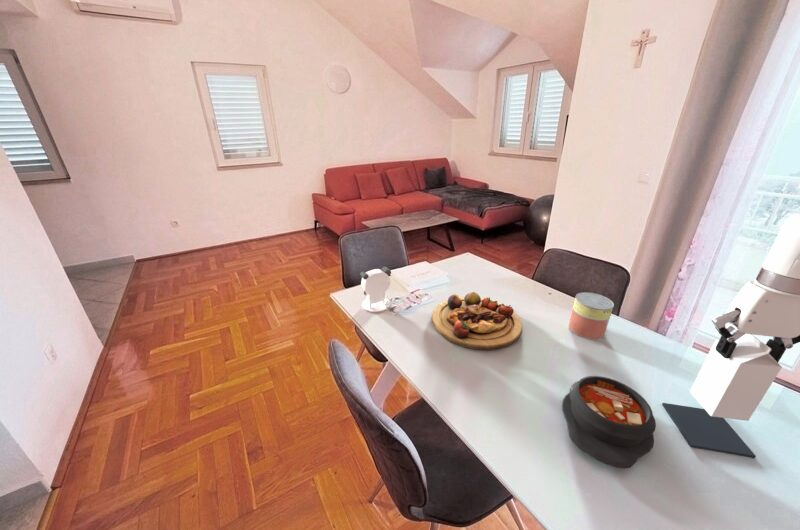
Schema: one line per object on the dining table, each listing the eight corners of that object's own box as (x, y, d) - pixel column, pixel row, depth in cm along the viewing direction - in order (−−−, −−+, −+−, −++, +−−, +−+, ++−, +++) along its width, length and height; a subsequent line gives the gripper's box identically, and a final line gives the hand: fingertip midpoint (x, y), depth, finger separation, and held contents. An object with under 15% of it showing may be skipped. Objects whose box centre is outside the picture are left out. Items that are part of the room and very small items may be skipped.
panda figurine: (383, 294, 133) (382, 262, 127) (396, 306, 124) (396, 272, 118) (357, 301, 128) (355, 268, 122) (369, 315, 119) (367, 279, 113)
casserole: (571, 377, 89) (578, 353, 86) (652, 410, 79) (664, 385, 75) (548, 441, 71) (555, 414, 68) (649, 495, 61) (663, 466, 57)
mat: (716, 412, 78) (717, 410, 78) (755, 458, 67) (756, 456, 67) (661, 404, 80) (662, 402, 80) (690, 446, 70) (691, 445, 69)
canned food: (607, 343, 103) (617, 312, 98) (569, 335, 107) (577, 305, 102) (601, 324, 113) (610, 295, 108) (566, 318, 117) (574, 289, 112)
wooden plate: (483, 366, 93) (486, 343, 90) (413, 319, 116) (413, 300, 113) (539, 326, 112) (543, 306, 108) (469, 292, 134) (471, 275, 131)
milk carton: (710, 417, 68) (749, 347, 60) (688, 392, 75) (721, 325, 67) (748, 421, 67) (792, 350, 59) (722, 396, 74) (760, 329, 66)
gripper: (825, 276, 60) (779, 351, 67) (717, 269, 63) (685, 340, 70) (869, 296, 53) (813, 376, 60) (746, 285, 56) (707, 362, 64)
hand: (744, 356), depth 65 cm, fingers closed on milk carton, 7 cm apart
